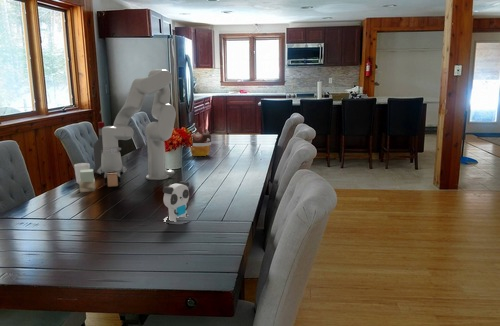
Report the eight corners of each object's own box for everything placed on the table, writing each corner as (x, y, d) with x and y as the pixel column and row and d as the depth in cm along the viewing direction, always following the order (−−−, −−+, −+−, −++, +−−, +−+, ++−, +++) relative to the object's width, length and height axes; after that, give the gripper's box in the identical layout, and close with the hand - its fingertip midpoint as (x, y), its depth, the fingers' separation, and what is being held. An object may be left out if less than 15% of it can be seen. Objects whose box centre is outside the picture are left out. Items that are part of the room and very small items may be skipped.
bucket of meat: (210, 158, 296) (210, 130, 292) (187, 158, 296) (186, 129, 292) (212, 153, 316) (212, 126, 312) (190, 152, 315) (189, 126, 311)
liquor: (92, 173, 248) (89, 122, 242) (103, 170, 256) (100, 121, 250) (105, 174, 244) (101, 123, 238) (115, 171, 253) (112, 121, 247)
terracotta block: (117, 183, 225) (117, 172, 224) (117, 185, 220) (117, 174, 219) (108, 184, 223) (107, 173, 222) (107, 186, 219) (107, 175, 217)
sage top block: (93, 178, 215) (93, 169, 214) (93, 181, 210) (93, 171, 209) (81, 179, 213) (80, 169, 212) (80, 182, 208) (80, 172, 207)
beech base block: (95, 187, 217) (94, 178, 216) (94, 191, 210) (94, 181, 209) (80, 188, 215) (80, 179, 214) (79, 192, 208) (79, 182, 207)
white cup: (85, 184, 222) (84, 166, 220) (72, 183, 224) (71, 165, 222) (94, 181, 230) (92, 163, 228) (81, 180, 231) (79, 162, 229)
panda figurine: (177, 227, 160) (176, 189, 157) (156, 222, 166) (154, 185, 163) (197, 218, 170) (197, 182, 167) (176, 213, 176) (175, 179, 173)
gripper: (127, 148, 224) (129, 181, 228) (93, 149, 219) (96, 183, 223) (128, 150, 217) (129, 184, 221) (92, 152, 212) (95, 187, 216)
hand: (112, 183), depth 222 cm, fingers closed on terracotta block, 5 cm apart
